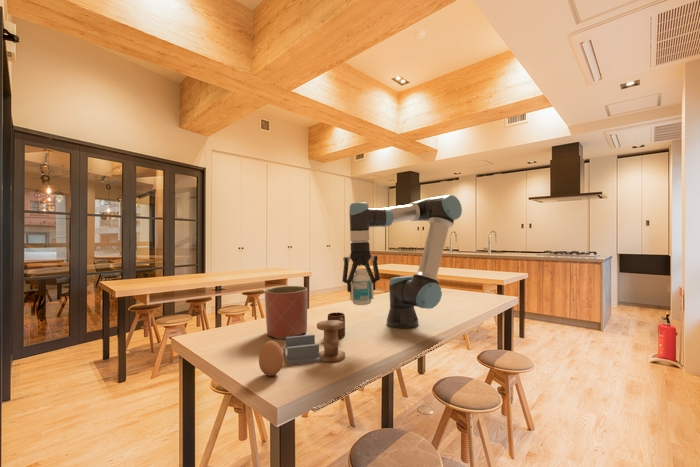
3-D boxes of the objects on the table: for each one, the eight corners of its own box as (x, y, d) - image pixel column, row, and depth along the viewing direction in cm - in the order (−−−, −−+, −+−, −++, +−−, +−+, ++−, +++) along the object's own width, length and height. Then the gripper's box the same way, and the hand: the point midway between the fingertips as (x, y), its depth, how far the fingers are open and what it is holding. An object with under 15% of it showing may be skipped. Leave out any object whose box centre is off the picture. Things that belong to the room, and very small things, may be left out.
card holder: (314, 344, 128) (314, 332, 128) (321, 361, 111) (321, 347, 111) (284, 347, 125) (284, 335, 125) (286, 365, 108) (286, 351, 108)
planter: (278, 343, 131) (277, 294, 131) (258, 333, 145) (257, 289, 145) (316, 333, 143) (315, 288, 143) (294, 324, 157) (293, 284, 158)
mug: (352, 340, 132) (351, 317, 133) (334, 342, 130) (334, 319, 130) (341, 332, 144) (341, 311, 144) (325, 334, 141) (325, 313, 141)
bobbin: (341, 350, 120) (341, 319, 121) (348, 360, 111) (347, 326, 111) (315, 353, 118) (314, 321, 118) (319, 364, 108) (318, 329, 108)
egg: (282, 379, 97) (281, 344, 97) (256, 381, 97) (256, 345, 97) (285, 369, 105) (284, 336, 105) (261, 370, 104) (261, 337, 104)
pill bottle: (361, 300, 131) (360, 268, 131) (375, 303, 126) (374, 269, 126) (348, 304, 126) (347, 269, 126) (362, 306, 121) (361, 271, 121)
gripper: (380, 240, 132) (382, 295, 132) (333, 242, 127) (334, 299, 127) (387, 241, 125) (389, 299, 125) (336, 243, 120) (338, 303, 120)
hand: (361, 299), depth 126 cm, fingers closed on pill bottle, 7 cm apart
